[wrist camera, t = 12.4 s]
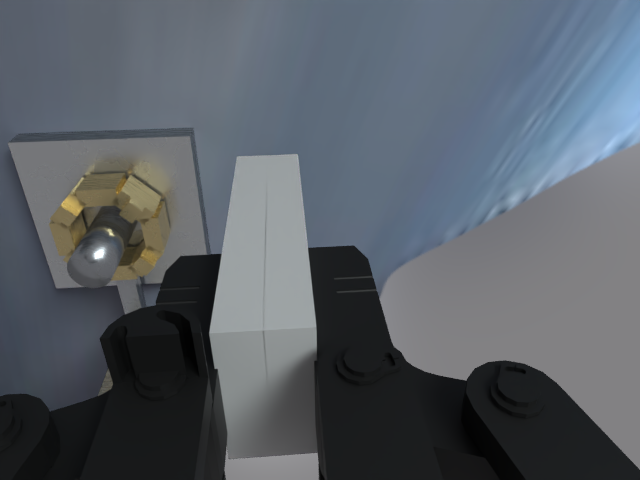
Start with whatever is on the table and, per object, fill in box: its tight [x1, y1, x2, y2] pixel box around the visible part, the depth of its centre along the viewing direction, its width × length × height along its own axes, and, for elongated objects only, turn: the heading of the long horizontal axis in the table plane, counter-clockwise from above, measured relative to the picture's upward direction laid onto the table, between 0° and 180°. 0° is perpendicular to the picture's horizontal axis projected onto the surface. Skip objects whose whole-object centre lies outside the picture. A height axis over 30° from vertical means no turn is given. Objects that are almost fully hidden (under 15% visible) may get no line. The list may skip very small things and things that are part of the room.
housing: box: [8, 128, 211, 288], centre depth 42 cm, size 14×14×10 cm
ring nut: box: [49, 173, 170, 396], centre depth 42 cm, size 22×8×15 cm, turn 1°
